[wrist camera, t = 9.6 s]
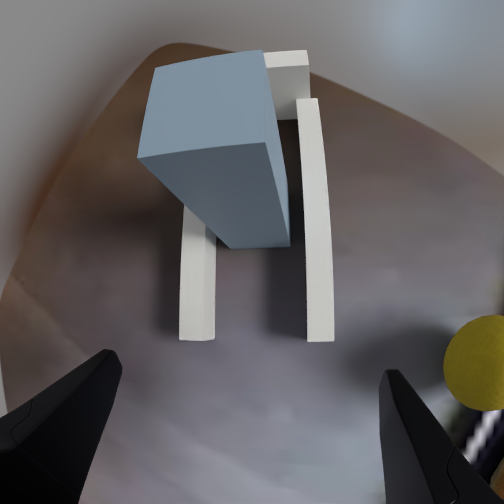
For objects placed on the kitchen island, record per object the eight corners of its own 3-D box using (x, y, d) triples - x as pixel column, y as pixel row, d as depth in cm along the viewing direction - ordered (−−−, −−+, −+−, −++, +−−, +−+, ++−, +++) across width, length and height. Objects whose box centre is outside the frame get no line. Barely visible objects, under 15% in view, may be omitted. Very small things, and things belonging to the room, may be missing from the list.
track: (330, 338, 20) (340, 345, 14) (193, 338, 21) (153, 342, 15) (315, 103, 23) (314, 49, 18) (204, 113, 25) (179, 65, 19)
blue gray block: (290, 246, 21) (265, 142, 9) (230, 249, 22) (137, 158, 9) (288, 190, 22) (262, 49, 10) (231, 193, 23) (155, 68, 10)
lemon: (421, 399, 18) (475, 433, 10) (429, 317, 19) (490, 312, 11) (486, 392, 17) (552, 414, 9) (494, 316, 18) (564, 309, 10)
